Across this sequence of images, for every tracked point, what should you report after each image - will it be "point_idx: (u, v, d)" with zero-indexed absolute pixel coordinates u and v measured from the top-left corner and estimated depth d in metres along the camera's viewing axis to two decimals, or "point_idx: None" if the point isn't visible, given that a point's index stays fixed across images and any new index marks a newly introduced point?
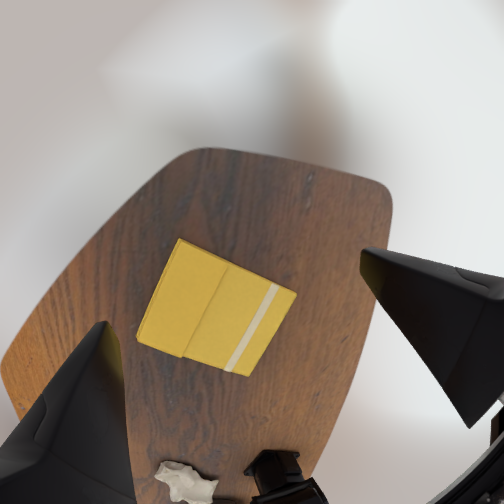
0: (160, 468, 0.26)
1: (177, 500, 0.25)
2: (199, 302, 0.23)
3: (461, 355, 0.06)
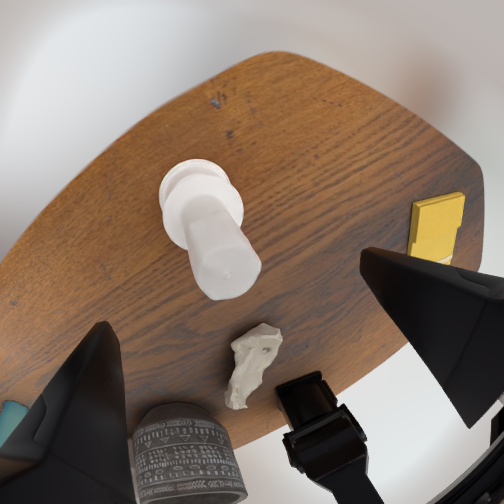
0: (271, 329, 0.26)
1: (236, 385, 0.24)
2: (445, 227, 0.28)
3: (461, 355, 0.06)
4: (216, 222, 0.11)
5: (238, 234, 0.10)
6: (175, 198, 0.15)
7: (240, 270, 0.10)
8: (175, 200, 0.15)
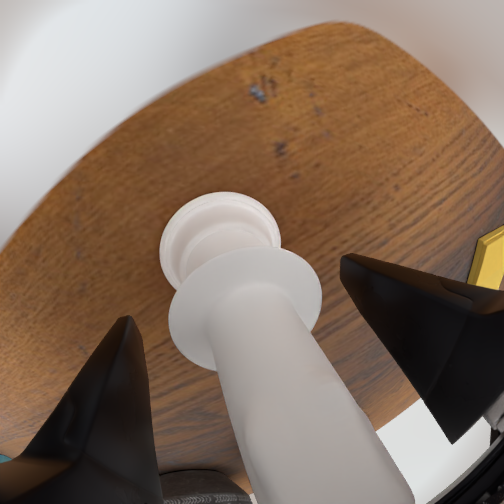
0: None
1: None
2: (501, 262, 0.21)
3: (442, 370, 0.06)
4: (328, 437, 0.03)
5: (394, 483, 0.03)
6: (192, 296, 0.07)
7: None
8: (193, 298, 0.07)
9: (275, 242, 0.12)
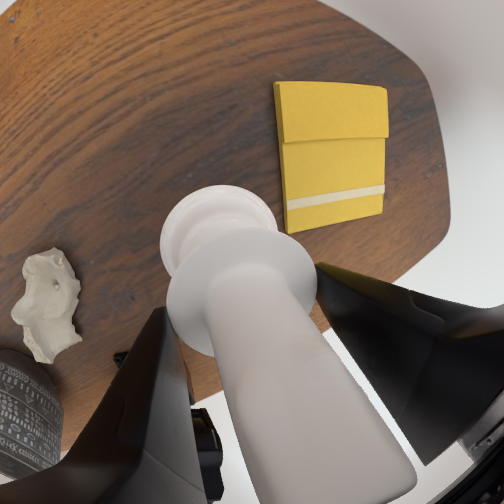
0: (51, 252, 0.16)
1: (18, 320, 0.15)
2: (351, 128, 0.20)
3: (411, 391, 0.05)
4: (318, 401, 0.04)
5: (391, 450, 0.03)
6: (189, 277, 0.07)
7: None
8: (190, 280, 0.07)
9: None
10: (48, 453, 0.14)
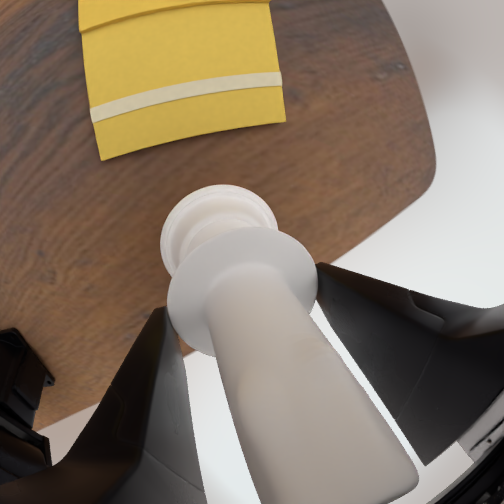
0: None
1: None
2: None
3: (411, 391, 0.05)
4: (321, 400, 0.04)
5: (394, 449, 0.03)
6: (189, 277, 0.07)
7: None
8: (190, 280, 0.07)
9: None
10: None
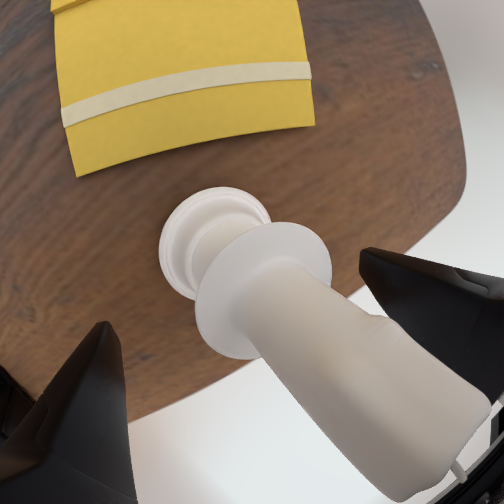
0: None
1: None
2: None
3: (460, 356, 0.06)
4: (401, 361, 0.04)
5: (470, 384, 0.03)
6: (219, 278, 0.07)
7: None
8: (220, 281, 0.07)
9: None
10: None
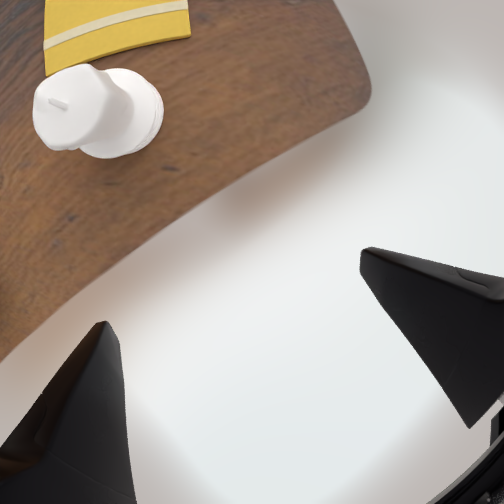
0: None
1: None
2: None
3: (461, 355, 0.06)
4: None
5: None
6: None
7: (79, 99, 0.05)
8: None
9: (158, 105, 0.15)
10: None
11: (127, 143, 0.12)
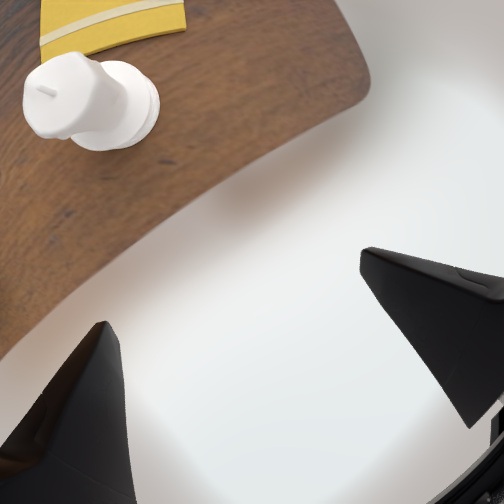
0: None
1: None
2: None
3: (460, 355, 0.06)
4: None
5: None
6: None
7: (68, 85, 0.05)
8: None
9: (154, 98, 0.15)
10: None
11: (121, 135, 0.12)
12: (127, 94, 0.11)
